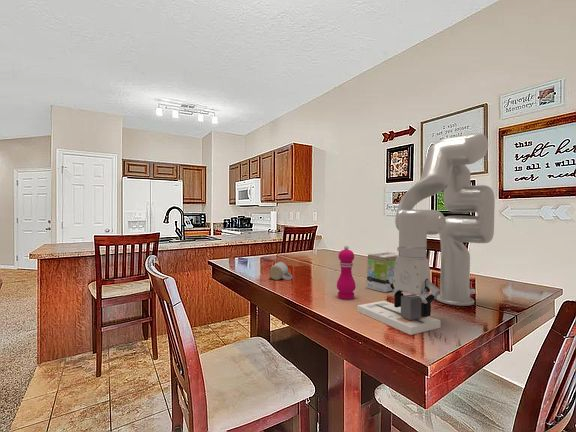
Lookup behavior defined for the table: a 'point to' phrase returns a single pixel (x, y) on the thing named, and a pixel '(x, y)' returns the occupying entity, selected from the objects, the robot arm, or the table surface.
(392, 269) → the tea box
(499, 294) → the table surface
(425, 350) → the table surface
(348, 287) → the pepper mill
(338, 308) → the table surface
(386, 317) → the fader console
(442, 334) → the table surface
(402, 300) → the fader
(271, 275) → the ceramic mug
